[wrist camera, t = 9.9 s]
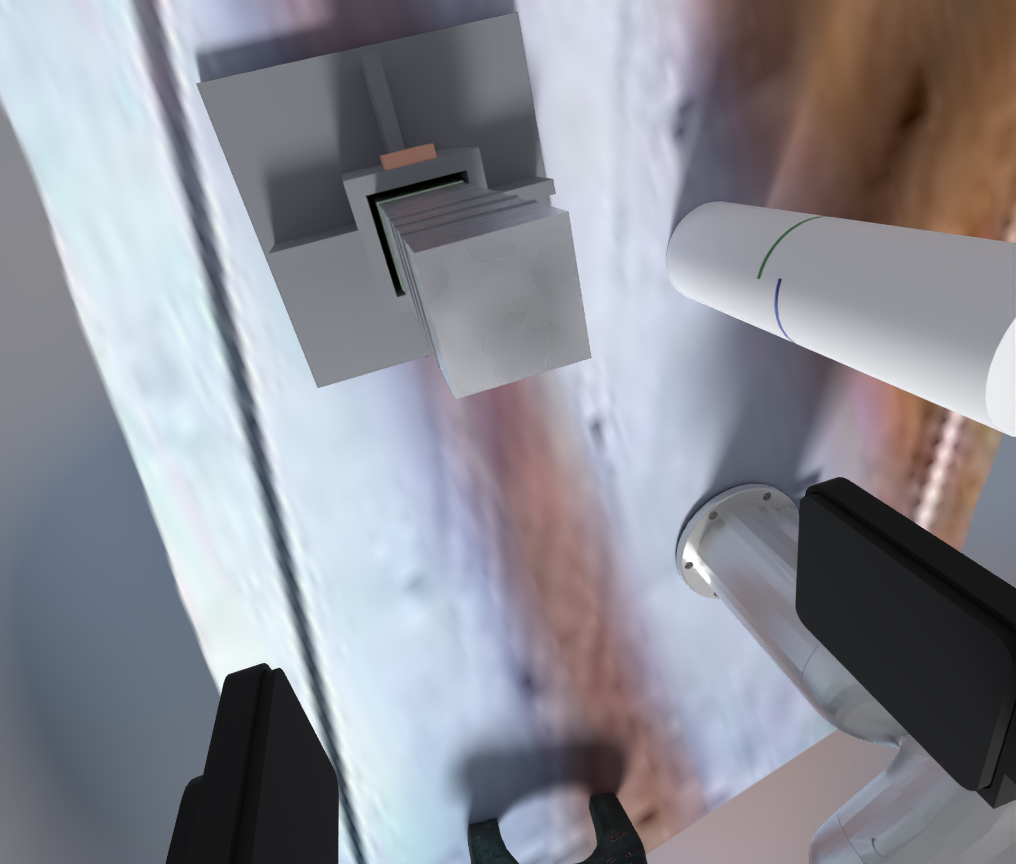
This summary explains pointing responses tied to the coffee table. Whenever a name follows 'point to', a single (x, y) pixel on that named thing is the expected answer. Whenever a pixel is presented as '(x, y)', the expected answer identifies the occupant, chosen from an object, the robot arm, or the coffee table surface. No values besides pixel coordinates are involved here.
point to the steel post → (487, 281)
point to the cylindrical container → (865, 298)
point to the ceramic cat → (617, 840)
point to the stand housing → (371, 171)
